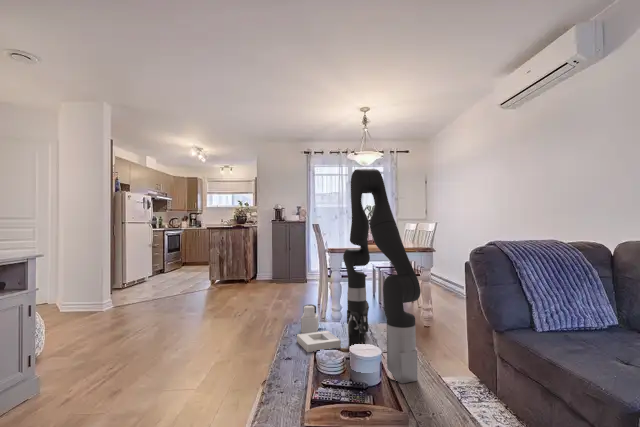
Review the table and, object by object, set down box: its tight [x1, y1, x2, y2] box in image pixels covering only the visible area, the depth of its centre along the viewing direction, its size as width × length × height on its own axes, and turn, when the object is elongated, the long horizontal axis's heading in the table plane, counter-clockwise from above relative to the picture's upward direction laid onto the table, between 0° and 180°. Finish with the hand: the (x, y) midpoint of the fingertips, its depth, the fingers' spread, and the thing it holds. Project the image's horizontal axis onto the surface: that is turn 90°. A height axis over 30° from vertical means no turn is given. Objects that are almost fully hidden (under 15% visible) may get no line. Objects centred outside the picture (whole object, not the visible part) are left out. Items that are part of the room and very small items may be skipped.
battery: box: [347, 319, 367, 348], centre depth 149 cm, size 7×4×11 cm, turn 104°
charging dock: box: [296, 330, 341, 353], centre depth 154 cm, size 14×14×3 cm
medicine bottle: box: [300, 304, 320, 334], centre depth 172 cm, size 7×7×12 cm
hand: (357, 338), depth 149 cm, fingers open, 8 cm apart
